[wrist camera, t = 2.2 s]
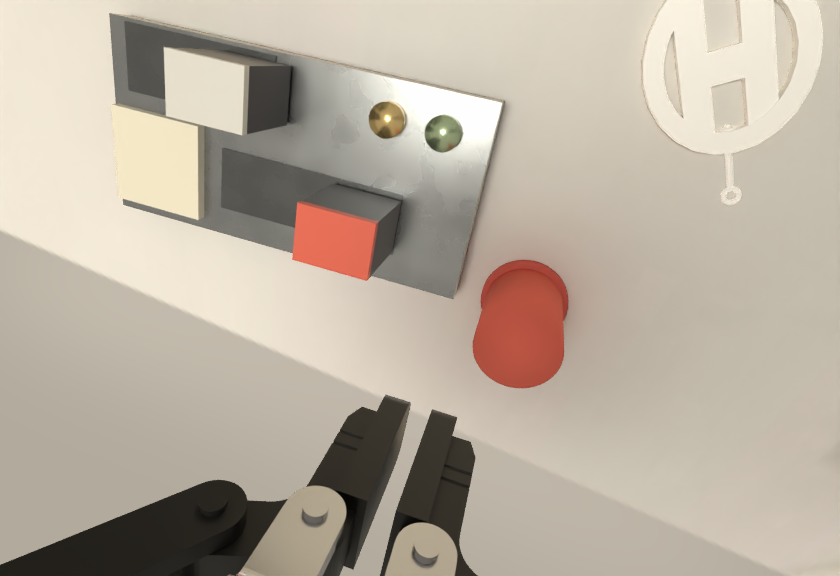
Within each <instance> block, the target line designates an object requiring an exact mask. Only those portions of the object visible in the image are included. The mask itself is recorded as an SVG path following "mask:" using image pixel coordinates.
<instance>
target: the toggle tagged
mask: <svg viewBox="0 0 840 576" xmlns="http://www.w3.org/2000/svg"><path fill="white" fill-rule="evenodd" d="M400 206H401V201H398V200H394V199H390V198H386V197H383V196H379V195H375V194H371V193H367V192H364V191H360V190H356V189H352V188H348V187H344V186H341V185H337V184H331V185H329V186H328V187H326V188H324V189H322V190H320V191H318V192H316V193H315V194H313V195H311V196H309V197H307V198H305V199H303V200H301V201H300V202H298V203H297V211H296V223H295V235H294V246H293V258H292V259H293V260H296V261H300V262H303V263H306V264H310V265H313V266H317V267H320V268H324V269H327V270H331V271H334V272H338V273H341V274H345V275H348V276H352V277H355V278H359V279H362V280H366V281H367V280H368V279H369V278H370V277H371V275H372V274H373V273H374V272H375V271H376V270H377V269H378V267H379V266H380V265H381V264H382V263H383V262H384V261H385V259H386V258H387V257H388V256H389V255H390V254H391V252H392V251H393V245H394V240H395V234H396V229H397V223H398V217H399V212H400Z"/></svg>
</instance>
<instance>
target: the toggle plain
mask: <svg viewBox="0 0 840 576" xmlns="http://www.w3.org/2000/svg"><path fill="white" fill-rule="evenodd" d="M164 70H165V101H166V116H168V117H172V118H176V119H180V120H184V121H188V122H192V123H196V124H200V125H204V126H207V127H211V128H215V129H219V130H223V131H227V132H231V133H235V134H239V135H246V134H251V133H255V132H259V131H264V130H268V129H273V128H277V127H282V126H286V125H287V117H288V103H289V89H290V75H291V66H289V65H285V64H281V63H276V62H272V61H268V60H263V59H259V58H255V57H250V56H246V55H242V54H237V53H233V52H229V51H225V50H215V49H193V48H171V47H164Z"/></svg>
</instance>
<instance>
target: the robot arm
mask: <svg viewBox="0 0 840 576" xmlns="http://www.w3.org/2000/svg"><path fill="white" fill-rule="evenodd" d="M410 405H411V403H410V402H407V401H404V400H401V399H398V398H395V397H391V396H388V395H385V397H384V398H383V400H382V402H381V404H380V406H379V408H378V410H377V412H376V411H373V410H370V409H367V408H364V407H361V408H360V409H358V410H357V411H355V412H354V413H352V414H351V415H350V416H348V417H347V419H346V421H345V422H344V424H343V426H342V428H341V429H340V432H339V433H338V434H337V436H336V438H335V439H334V442H333V443H332V445H331V446H330V448H329V450H328V452H327V453H326V455H325V457H324V458H323V460H322V462H321V464H320V465H319V467H318V468H317V470H316V472H315V474H314V475H313V477H312V479H311V480H310V482H309V484H308V485H307V486H306V487H305V488H302V489H300V490H298V491H296V492H294V493H293V494H292V495H291V496H290V497H289V498H288V499H286V500H283V501H276V502H266V501H247V498H246V494H245V492H244V491H243V490H242V488H241V487H239V486H238V485H236V484H235V483H232V482H229V481H225V480H213V481H208V482H205V483H202V484H199V485H197V486H194V487H192V488H189V489H187V490H184V491H182V492H179V493H177V494H174V495H172V496H170V497H167V498H164V499H162V500H159V501H157V502H155V503H152V504H150V505H147V506H145V507H142V508H140V509H137V510H135V511H133V512H130V513H127V514H125V515H122V516H120V517H117V518H115V519H113V520H110V521H108V522H105V523H103V524H100V525H98V526H95V527H93V528H90V529H88V530H85V531H83V532H80V533H78V534H76V535H73V536H71V537H68V538H66V539H63V540H61V541H58V542H56V543H53V544H51V545H49V546H46V547H43V548H41V549H39V550H36V551H34V552H31V553H29V554H26V555H24V556H21V557H19V558H16V559H14V560H11V561H9V562H6V563H4V564H1V565H0V576H339V575H340V573H341V571H342V568H343V566H346V567H348V568H351V569H354V566H355V564H356V561H357V559H358V556H359V554H360V551H361V549H362V546H363V544H364V541H365V539H366V536H367V534H368V531H369V529H370V526H371V524H372V521H373V519H374V516H375V514H376V511H377V509H378V506H379V504H380V501H381V499H382V496H383V494H384V491H385V489H386V486H387V484H388V481H389V478H390V476H391V474H392V471H393V469H394V466H395V464H396V461H397V458H398V455H399V451H400V448H401V443H402V440H403V436H404V431H405V427H406V423H407V418H408V414H409V410H410ZM456 420H457V417H454V416H451V415H448V414H445V413H442V412H439V411H436V410H432V411H431V414H430V417H429V420H428V423H427V425H426V428H425V431H424V434H423V437H422V439H421V442H420V445H419V448H418V451H417V454H416V456H415V459H414V462H413V465H412V468H411V470H410V473H409V476H408V479H407V482H406V484H405V487H404V490H403V493H402V496H401V498H400V501H399V504H398V507H397V510H396V513H395V517H394V521H393V526H392V529H391V533H390V537H389V542H388V546H387V550H386V554H385V558H384V562H383V566H382V570H381V574H380V576H477V575H476V574H475V573H474V572H473V571H472V570H471V569H470V568H469V566H468V565H467V564H466V562H465V561H464V559H463V556H462V554H461V551H460V546H459V538H460V532H461V526H462V522H463V517H464V512H465V507H466V502H467V497H468V492H469V487H470V482H471V477H472V472H473V467H474V462H475V455H474V452H473V448H472V445H471V442H469V441H466V440H463V439H460V438H456V437H454V436H452V434H453V431H454V427H455V423H456Z"/></svg>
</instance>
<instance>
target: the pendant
mask: <svg viewBox="0 0 840 576" xmlns="http://www.w3.org/2000/svg"><path fill="white" fill-rule="evenodd" d="M776 1H777V2H778V3H779V4H780V5H781V6H782V7H783V9H784V11H785V14H786V16H787V18H788V20H789V22H790V24H791V30H792V36H793V42H794V43H793V55H792V63H791V66H790V69H789V73H788V76H787V79H786V82H785V83H784V85H783V87H782V88H781V90H780V92H778V72H777V52H776V32H775V12H774V0H736V6H737V19H738V33H739V43H737V44H734V45H730V46H727V47H723V48H720V49H717V50H713V51H710V52H708V48H707V37H706V26H705V15H704V4H703V0H666V1H665V2H664V4H663V5H662V7H661V8H660V9H659V11H658V12H657V14H656V16H655V19H654V21H653V23H652V25H651V28H650V30H649V32H648V34H647V37H646V41H645V46H644V51H643V56H642V61H641V70H642V88H643V92H644V96H645V100H646V103H647V107H648V109H649V111H650V113H651V114H652V116H653V118H654V120H655V121H656V123H657V125H658V126H659V127H660V128H661V129H662V130H663V131H664V132H665V133H666V134H667V135H668V136H669V137H670V138H671V139H672V140H673V141H675V142H677V143H679V144H681V145H683V146H684V147H686V148H688V149H690V150H692V151H696V152H701V153H707V154H712V155H718V154H725V170H726V185H727V187H726V188H725V189H723V190H722V192H721V193H720V200H721V202H722V203H723V204H725V205H733V204H736V203H737V202H738V201H739V200H740V199H741V197H742V191H741V189H740V188H739V187H736V186H734V176H733V155H732V153H737V152H739V151H742V150H745V149H748V148H750V147H753V146H756V145H758V144H760V143H761V142H763V141H764V140H766V139H767V138H769V137H770V136H772V135H773V134H775V133H776V132H778V131H779V130H780V129H781V128H782V127H783V126H784V125H785V124H786V123H787V122H788V121H789V120H790V119H791V118H792V117H793V116H794V115H795V113H796V112H797V111H798V110H799V108H800V106H801V105H802V103H803V101H804V100H805V98H806V97H807V95H808V93H809V92H810V90H811V88H812V86H813V83H814V80H815V77H816V74H817V71H818V68H819V65H820V63H821V54H822V44H823V28H822V22H821V15H820V9H819V6H818V4H817V2H816V0H776ZM671 35H672V38H673V46H674V55H675V64H676V73H677V81H678V90H679V99H680V108H681V116H680V115H679V114H678V113H677V112H676V110H675V108H674V107H673V105H672V103H671V101H670V99H669V98H668V94H667V90H666V86H665V82H664V59H665V55H666V50H667V46H668V42H669V40H670V38H671ZM738 79H742V87H743V101H744V114H745V124H744V125H742V126H739V127H737V126H731V125H730V124H725V125H724V126H723V128H722V129H719V130H718V131H715V124H714V113H713V102H712V91H711V87H712V86H716V85H720V84H723V83H727V82H731V81H734V80H738ZM729 192H734V193H735V197H734V198H733V199H728V198H727V197H726V196H727V194H728V193H729Z"/></svg>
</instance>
